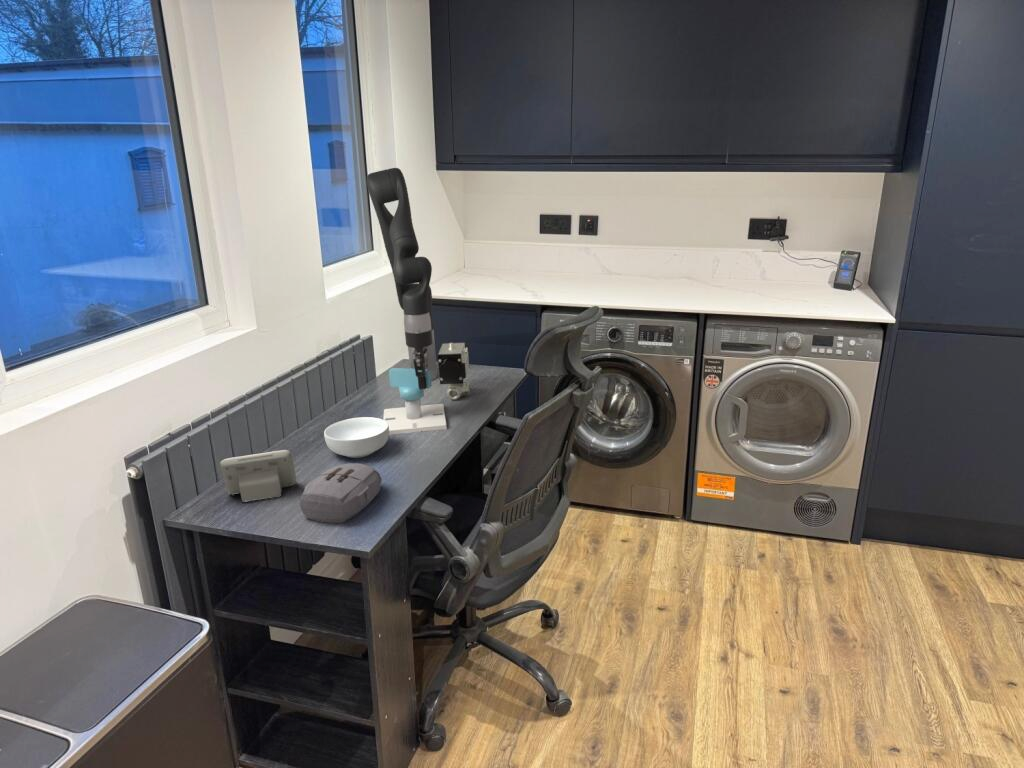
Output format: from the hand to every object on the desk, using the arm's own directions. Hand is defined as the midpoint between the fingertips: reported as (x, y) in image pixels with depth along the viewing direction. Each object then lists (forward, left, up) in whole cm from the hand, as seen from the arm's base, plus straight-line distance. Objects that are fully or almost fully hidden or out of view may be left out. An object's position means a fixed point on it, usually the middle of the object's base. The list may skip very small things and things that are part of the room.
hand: (423, 386), depth 206 cm
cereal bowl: (+17, -19, -11) cm, 28 cm away
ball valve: (-20, +10, -11) cm, 25 cm away
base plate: (-2, -4, -11) cm, 12 cm away
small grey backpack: (+46, -20, -11) cm, 51 cm away
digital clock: (+36, -40, -11) cm, 55 cm away
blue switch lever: (-2, -4, -3) cm, 5 cm away
